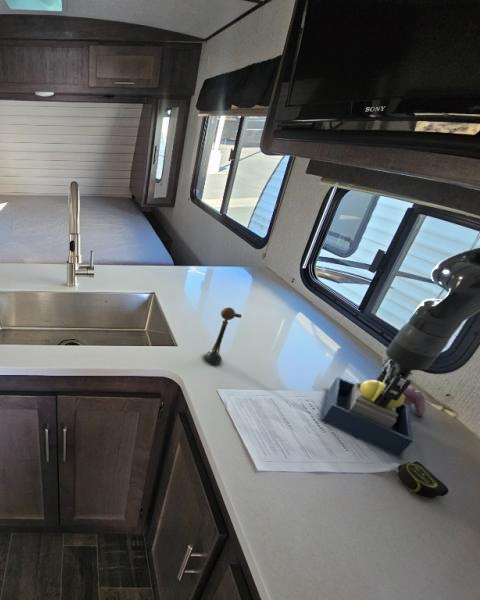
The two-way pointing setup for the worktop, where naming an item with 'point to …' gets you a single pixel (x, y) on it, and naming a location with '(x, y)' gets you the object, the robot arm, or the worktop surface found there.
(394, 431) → the crate
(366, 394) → the yellow capsule
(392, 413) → the block
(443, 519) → the worktop surface
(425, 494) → the tape measure
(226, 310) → the wooden tabletop sculpture
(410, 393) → the video game controller
